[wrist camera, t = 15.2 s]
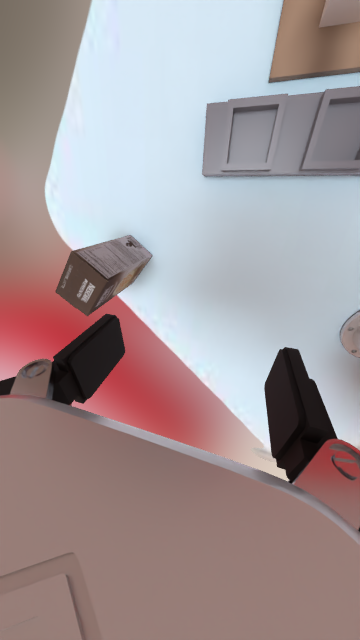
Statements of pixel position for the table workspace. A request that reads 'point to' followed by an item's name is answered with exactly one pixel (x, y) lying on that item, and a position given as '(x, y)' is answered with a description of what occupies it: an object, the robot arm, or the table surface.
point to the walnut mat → (313, 44)
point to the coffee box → (101, 272)
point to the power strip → (284, 135)
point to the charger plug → (340, 12)
